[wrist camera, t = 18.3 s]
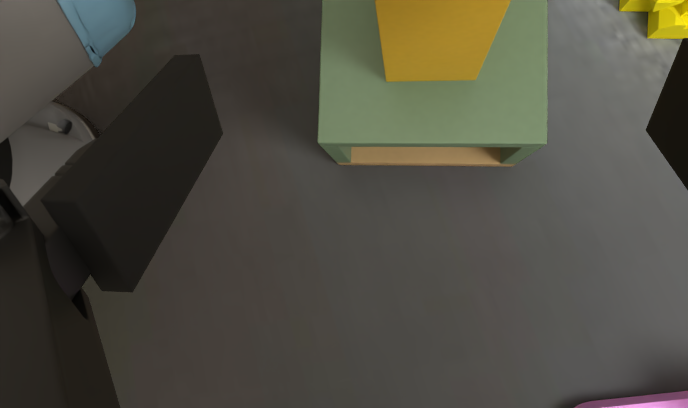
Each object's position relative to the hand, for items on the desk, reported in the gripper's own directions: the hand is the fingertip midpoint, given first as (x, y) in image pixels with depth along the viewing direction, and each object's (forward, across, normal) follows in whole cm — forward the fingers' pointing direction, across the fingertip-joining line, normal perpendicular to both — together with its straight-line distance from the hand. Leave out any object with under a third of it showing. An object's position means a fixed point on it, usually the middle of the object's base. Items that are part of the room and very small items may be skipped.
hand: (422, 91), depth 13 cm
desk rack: (+24, +1, -10) cm, 26 cm away
